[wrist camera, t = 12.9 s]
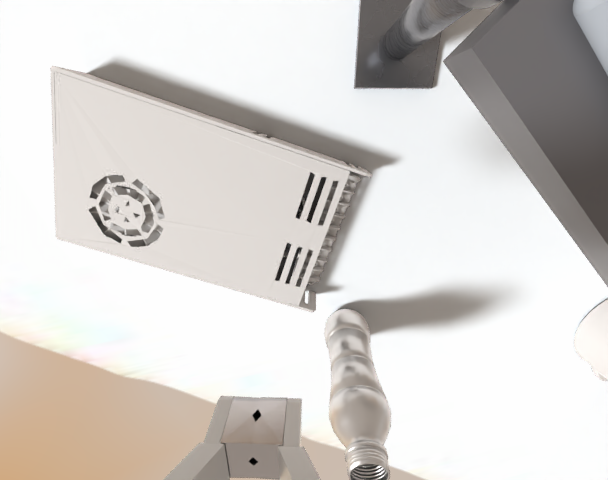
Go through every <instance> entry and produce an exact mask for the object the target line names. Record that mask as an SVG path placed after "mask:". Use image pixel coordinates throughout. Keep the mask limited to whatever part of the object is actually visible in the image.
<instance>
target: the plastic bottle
mask: <svg viewBox="0 0 608 480" xmlns="http://www.w3.org/2000/svg"><path fill="white" fill-rule="evenodd" d="M324 336H325V341H326V344H327V347H328V351H329V356H330V362H331V392H330V403H329V420H330V423H331V425H332V428H333V431H334V433H335V434H336V436H337V437H338V438H339V440H340V441H341V443H342V444H343V445H344V446H345V447H346V450H345V459H346V462H347V468H348V469H347V470H348V476H349V480H389V478H390V470H389V465H388V461H387V460H388V455H387V451H386V448H385V447H384V446H383V445H384V443H385V441H386V439H387V436H388V433H389V430H390V427H391V411H390V408H389V405H388V401H387V400H386V397H385V394H384V392H383V390H382V387H381V385H380V382H379V380H378V377H377V374H376V371H375V368H374V364H373V361H372V354H371V347H370V329H369V326H368V324H367V322H366V320H365V319H364V317H363V316H362V315H361V314H360V313H359V312H357V311H354V310H351V309H340V310H337V311H336V312H334V313H333V314H331V315H330V316H329V318H328V319H327V321H326V324H325V330H324Z"/></svg>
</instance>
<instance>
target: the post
mask: <svg viewBox="0 0 608 480" xmlns="http://www.w3.org/2000/svg"><path fill="white" fill-rule="evenodd" d="M470 10H472V8H468V7H466V6H464V5H462V4H461V3H459V2H458V1H457V0H360V4H359V19H358V34H357V49H356V64H355V79H354V89H430V88H432V85H433V78H434V72H435V66H436V60H437V54H438V48H439V41H440V35H441V31H442V30H444V29H445V28H446V27H448V26H449V25H451V24H452V23H453V22H455V21H456V20H458V19H459V18H460V17H462V16H463V15H465V14H466V13H468V12H469V11H470Z"/></svg>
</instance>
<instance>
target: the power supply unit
mask: <svg viewBox="0 0 608 480" xmlns="http://www.w3.org/2000/svg"><path fill="white" fill-rule="evenodd" d="M51 95H52V127H53V159H54V191H55V223H56V237H57V239H59V240H63V241H66V242H70V243H73V244H77V245H80V246H84V247H87V248H90V249H94V250H97V251H101V252H104V253H108V254H111V255H115V256H118V257H122V258H125V259H129V260H132V261H136V262H139V263H143V264H146V265H149V266H153V267H156V268H160V269H163V270H167V271H170V272H174V273H177V274H181V275H184V276H188V277H191V278H195V279H198V280H202V281H205V282H208V283H212V284H215V285H219V286H222V287H226V288H229V289H233V290H236V291H240V292H243V293H247V294H250V295H254V296H257V297H261V298H264V299H267V300H271V301H274V302H278V303H281V304H285V305H288V306H292V307H295V308H299V309H302V310H306V311H309V312H314V311H315V310H316V293H315V292H312V291H309V293H308V304H306V303H305V288H306V287H307V283H308V284H309V285H313V284H314V283H315V282H319V281H320V274H321V272H323V271H324V264H325V263H327V257H328V254H329V252H331V251H332V244H333V241H336V234H337V231H338V230H340V229H341V228H340V224H341V221H342V219H345V215H344V214H345V211H346V209H347V207H350V204H349V201H350V199H351V196H352V194H353V195H354V194H355V192H354V189H355V186H356V184H357V182H360V179H361V178H360V177H359V176H356V175H354V174H351V173H350V171H352V172H355V173H358V174H361V175H364V176H367V177H370V178H371V176H372V174H371V173H369V172H368V171H367V170H366V169H364V168H361V167H359V166H358V168H356V167H355V166H354V165H353V164H350V163H349V165H347V164H346V163H345V162H344V161H341V160H338V159H335V158H332V157H329V156H327V155H324V154H321V153H318V152H315V151H312V150H309V149H306V148H304V147H301V146H298V145H295V144H292V143H289V142H286V141H283V140H280V139H278V138H275V137H271V138H267V135H265V134H263V133H261V134H257V132H256V131H253V130H250V129H248V128H245V127H242V126H239V125H236V124H233V123H230V122H227V121H224V120H221V119H218V118H215V117H213V116H210V115H207V114H204V113H201V112H198V111H195V110H192V109H189V108H186V107H183V106H180V105H177V104H175V103H172V102H169V101H166V100H163V99H160V98H157V97H154V96H151V95H148V94H145V93H142V92H140V91H137V90H134V89H131V88H128V87H125V86H122V85H119V84H116V83H113V82H110V81H107V80H104V79H101V78H99V77H96V76H93V75H90V74H87V73H83V72H78V71H73V70H69V69H64V68H60V67H55V66H52V67H51ZM224 128H225V129H224ZM227 129H228V130H227ZM230 130H231V131H230ZM233 131H234V132H233ZM236 132H237V133H236ZM239 133H240V134H239ZM242 134H243V135H242ZM245 135H246V136H245ZM248 136H249V137H248ZM271 144H272V145H271ZM274 145H275V146H274ZM277 146H278V147H277ZM280 147H281V148H280ZM286 149H287V150H286ZM289 150H290V151H289ZM292 151H293V152H292ZM295 152H296V153H295ZM313 158H314V159H313ZM316 159H317V160H316ZM318 160H319V161H318ZM321 161H322V162H321ZM324 162H325V163H324ZM327 163H328V164H327ZM330 164H331V165H330ZM333 165H334V166H333ZM336 166H337V167H336ZM339 167H340V168H339ZM342 168H343V169H342ZM345 169H346V170H345ZM348 170H349V171H348ZM311 172H312V173H313V174H315V177H314V179H313V182H312V185H311V188H310V191H309V194H308V197H307V200H306V201H305V199H304V198H303V194H305V188H306V185H307V182H308V179H309V176H310V173H311ZM321 177H327V178H326V181H325V184H324V187H323V189H322V192H321V195H320V198H319V201H318V204H317V206H316V209H315V212H314V215H313V218H312V220H311V223H310V222H308V221H306V220H307V217H308V214H309V212H310V209H311V206H312V203H313V200H314V197H315V194H316V191H317V188H318V186H319V183H320V180H321ZM300 202H301V203H302V205H303V207H304V208H303V211H301V210H299V212H298V219H297V218H296V214H297V211H298V208H299V205H300ZM97 223H98V224H99V226H98V224H97ZM287 243H289V244H292V245H291V248H290V251H289V253H286V252H284V251H285V248H287V247H286V245H287ZM288 249H289V248H288ZM299 249H300V250H299ZM298 251H299V253H298ZM297 253H298V257H297V258H296V256H297ZM282 257H284V258H285V257H287V260H286V263H285V266H284V269H283V272H282V275H281V277H280V280H279V281H276V280H275V278H276V275H277V272H278V269H279V266H280V263H281V260H282ZM294 260H296V263H295V267H294V270H293V273H292V277H291V280H290V283H289V284H288V283H285V282H286V279H287V277H288V274H289V272H290V270H291V267H292V265H293V263H294ZM298 279H300V280H302V282H301V285H300V287H297V286H296V283H297V280H298Z"/></svg>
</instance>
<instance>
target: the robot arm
mask: <svg viewBox="0 0 608 480" xmlns="http://www.w3.org/2000/svg"><path fill="white" fill-rule="evenodd" d="M574 348H575V351H576V353H577V354H578V356H579V357H580V358H581V359H582V360H584V361H585V362H587V363H588V364H589V365H590V366H591V368H592V371H593V373H594V375H595V376H597V377H598V378H599V379H601V380H602V381H608V300H606V301H604V302H603V303H601V304H600V305H598V306H597V307H596V308H594V309H593V310H592V311H591V312H590V313H589V314H588V315H587V316H586V317H585V318H584V319H583V321H582V322H581V323H580V325H579V327H578V329H577V331H576V333H575V337H574ZM301 404H302V400H301V399H299V398H267V397H261V398H253V397H235V396H221V397H220V398H219V400H218V402H217V405H216V408H215V411H214V414H213V417H212V420H211V422H210V425H209V428H208V431H207V434H206V437H205V440H204V443H199V444H198V445H197V446H196V447H195V448H194V449H193V450H192V451H191V452H190V453H189V454H188V455H187V456H186V457H185V458H184V459H183V460H182V461H181V462H180V463H179V464H178V465H177V466H176V467H175V468H174V469H173V470H172V471H171V472H170V473H169V474H168V475H167V476H166V477H165V478H164V479H163V480H230V478H263V479H277V480H321V479H320V477H319V475H318V473H317V471H316V469H315V467H314V465H313V463H312V462H311V460H310V458H309V456H308V454H307V452H306V450H305V448H304V447H302V446H301Z"/></svg>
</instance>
